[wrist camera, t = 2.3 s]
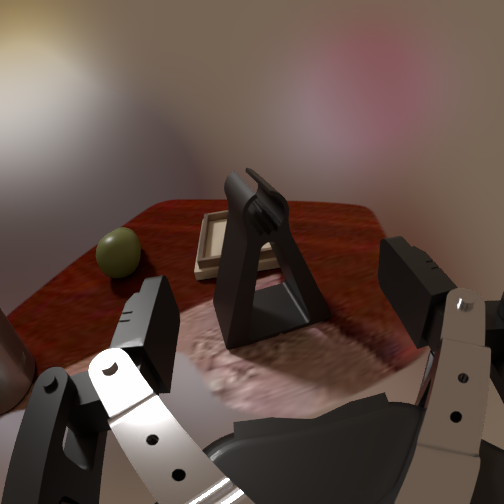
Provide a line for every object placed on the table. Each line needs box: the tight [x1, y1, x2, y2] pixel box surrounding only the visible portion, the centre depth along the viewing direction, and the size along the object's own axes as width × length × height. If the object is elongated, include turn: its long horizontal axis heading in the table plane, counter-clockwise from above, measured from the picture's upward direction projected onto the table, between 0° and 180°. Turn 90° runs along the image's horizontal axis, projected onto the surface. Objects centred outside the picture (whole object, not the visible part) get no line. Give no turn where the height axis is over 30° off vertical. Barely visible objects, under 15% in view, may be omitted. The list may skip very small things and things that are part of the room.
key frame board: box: [194, 210, 280, 280], centre depth 38 cm, size 10×13×2 cm
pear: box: [96, 228, 141, 278], centre depth 37 cm, size 6×5×10 cm
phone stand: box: [213, 168, 331, 350], centre depth 24 cm, size 9×6×12 cm, turn 105°
